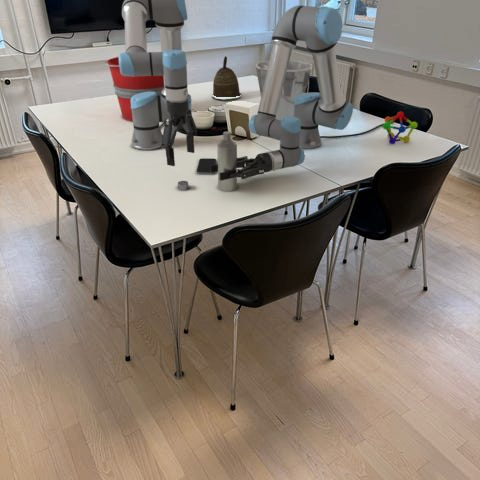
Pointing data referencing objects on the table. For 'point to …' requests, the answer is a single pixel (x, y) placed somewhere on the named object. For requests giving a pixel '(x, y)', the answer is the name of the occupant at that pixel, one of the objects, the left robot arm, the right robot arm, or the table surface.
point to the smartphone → (205, 165)
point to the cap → (183, 185)
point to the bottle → (227, 161)
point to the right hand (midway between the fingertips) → (215, 173)
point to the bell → (225, 82)
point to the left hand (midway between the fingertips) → (181, 158)
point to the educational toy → (398, 128)
